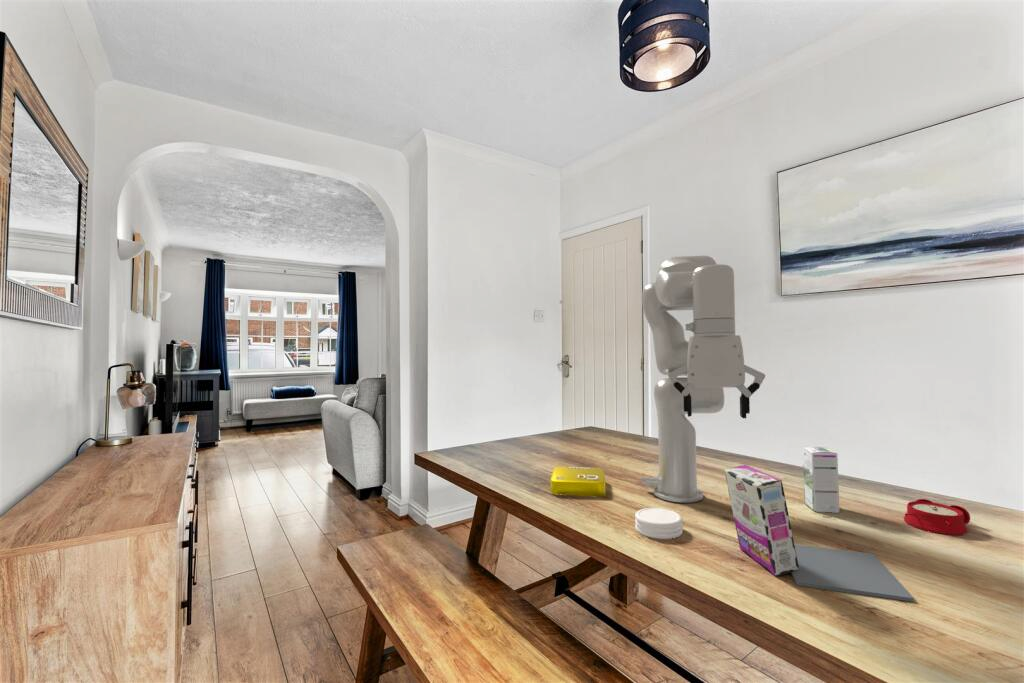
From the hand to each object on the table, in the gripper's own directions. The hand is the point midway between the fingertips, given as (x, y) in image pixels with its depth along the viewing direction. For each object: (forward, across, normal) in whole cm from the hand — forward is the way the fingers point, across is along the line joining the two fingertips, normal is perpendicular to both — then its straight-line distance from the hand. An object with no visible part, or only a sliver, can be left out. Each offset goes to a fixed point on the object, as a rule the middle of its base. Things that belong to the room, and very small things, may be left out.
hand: (715, 416), depth 90 cm
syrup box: (+27, +26, +34) cm, 50 cm away
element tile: (+27, -34, +33) cm, 55 cm away
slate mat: (+27, +20, 0) cm, 33 cm away
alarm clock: (+27, +47, +31) cm, 62 cm away
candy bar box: (+27, +8, 0) cm, 28 cm away
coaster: (+27, -12, +9) cm, 31 cm away
